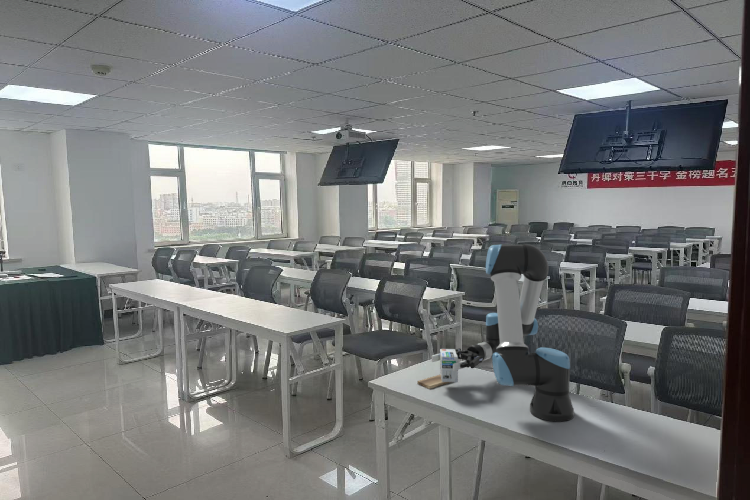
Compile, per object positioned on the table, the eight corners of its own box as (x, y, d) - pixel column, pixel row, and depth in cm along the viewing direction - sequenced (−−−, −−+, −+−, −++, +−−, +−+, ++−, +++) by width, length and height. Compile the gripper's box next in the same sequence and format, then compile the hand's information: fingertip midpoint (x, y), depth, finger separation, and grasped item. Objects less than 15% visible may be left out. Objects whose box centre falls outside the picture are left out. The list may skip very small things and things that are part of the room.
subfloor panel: (453, 381, 214) (453, 378, 214) (429, 389, 206) (429, 386, 206) (441, 376, 220) (441, 374, 220) (417, 383, 212) (417, 381, 212)
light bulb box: (458, 382, 201) (458, 356, 200) (441, 382, 201) (441, 356, 200) (455, 373, 212) (455, 348, 210) (439, 372, 212) (439, 348, 211)
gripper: (500, 368, 207) (463, 380, 194) (459, 353, 226) (423, 363, 214) (501, 351, 206) (464, 362, 194) (459, 337, 226) (423, 346, 213)
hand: (442, 363), depth 204 cm, fingers closed on light bulb box, 12 cm apart
